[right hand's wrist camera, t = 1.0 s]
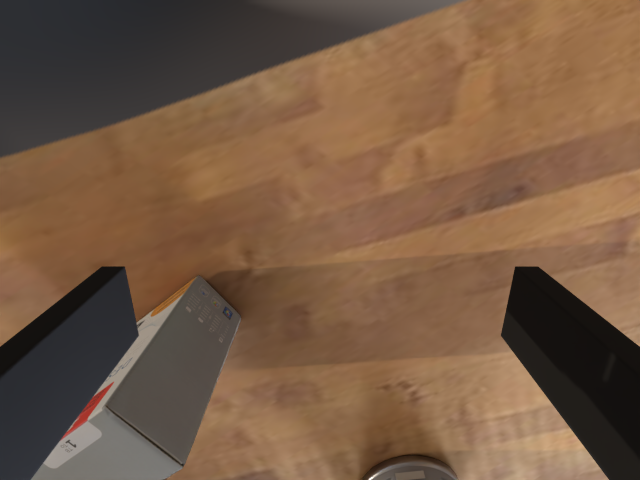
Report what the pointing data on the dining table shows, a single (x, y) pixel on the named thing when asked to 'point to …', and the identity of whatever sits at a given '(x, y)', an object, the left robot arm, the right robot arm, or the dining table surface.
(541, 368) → the right robot arm
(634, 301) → the dining table surface
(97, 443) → the hard drive box
